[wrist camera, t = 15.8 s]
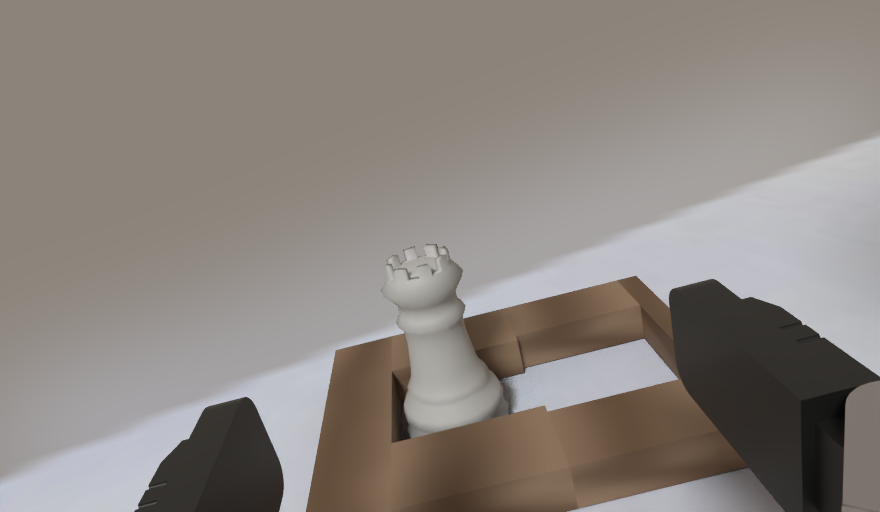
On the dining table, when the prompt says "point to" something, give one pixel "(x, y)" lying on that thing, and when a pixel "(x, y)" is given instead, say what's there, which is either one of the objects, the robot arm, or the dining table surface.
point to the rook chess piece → (439, 346)
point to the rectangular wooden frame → (517, 420)
